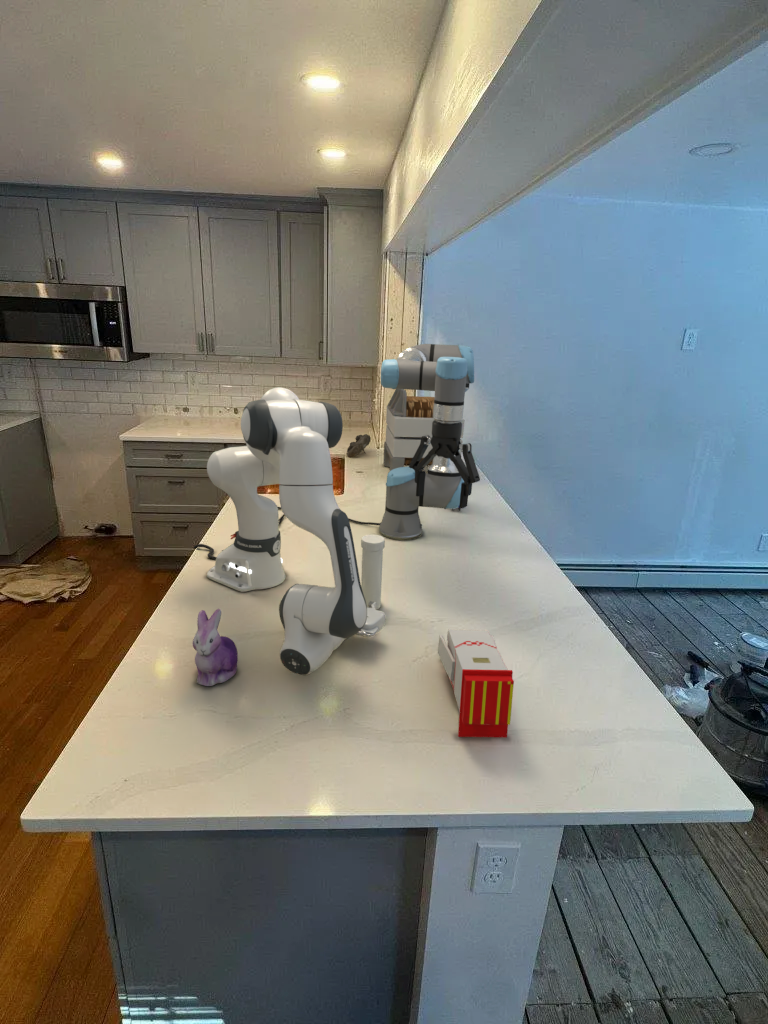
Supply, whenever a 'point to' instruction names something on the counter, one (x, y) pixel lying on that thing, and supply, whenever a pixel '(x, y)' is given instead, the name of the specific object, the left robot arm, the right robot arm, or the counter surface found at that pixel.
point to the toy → (478, 682)
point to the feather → (281, 519)
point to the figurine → (213, 651)
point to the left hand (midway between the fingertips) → (356, 600)
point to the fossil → (358, 445)
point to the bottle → (372, 576)
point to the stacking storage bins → (407, 428)
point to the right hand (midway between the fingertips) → (440, 501)
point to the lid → (373, 542)
